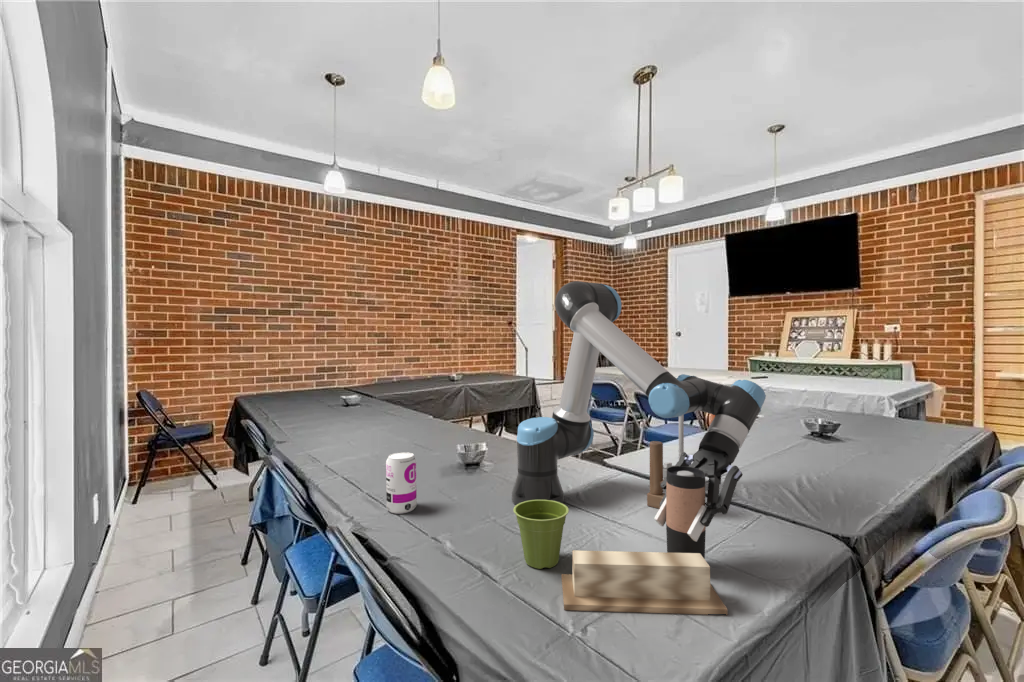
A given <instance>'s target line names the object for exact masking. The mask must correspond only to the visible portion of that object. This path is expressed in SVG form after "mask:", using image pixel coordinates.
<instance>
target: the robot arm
mask: <svg viewBox="0 0 1024 682" xmlns="http://www.w3.org/2000/svg"><path fill="white" fill-rule="evenodd" d="M554 308H555V313H556V314H557V316H558V317H559V319H560V320H561V322H562V323H564V325H565V326H567V328H568V329H570V331H572V333H573V335H572V336H573V337H572V340H571V346H570V350H569V356H568V360H567V366H566V371H565V375H564V381H563V385H562V391H561V395H560V400H559V405H558V406H555V408H553V411H552V415H551V417H547V416H538V417H531V418H528V419H525V420H523V421H521V422H520V423H519V424H518V426H517V434H516V443H517V446H516V448H517V449H516V450H517V455H516V456H517V475H516V478H515V482H514V485H513V488H512V490H511V502H512V504H514V506H516V505H517V504H519V503H521V502H524V501H529V500H552V501H557V502H560V503H562V504H564V502H565V499H564V497H565V496H564V491H563V487H562V484H561V481H560V478H559V475H558V474H559V473H558V460H561V459H564V458H569V457H571V456H577V455H579V454H581V453H582V452H585V451H586V450H587V449H589V448H590V446H591V445H592V443H593V441H594V435H595V434H594V428H593V426H592V423H591V416H590V415H589V413H588V407H589V403H590V398H591V397H590V396H591V395H592V394H591V393H592V389H593V383H594V379H595V374H596V370H597V365H598V361H599V357H600V356H599V355H600V354H602V355H603V356H604V357H605V358H606V359H607V360H608V361H609V362H610V363H612V364H613V366H615V368H617V369H618V370H619V371H620V372H621V373H622V374H623V375H624V376H625V377H626V378H627V379H628V380H629V381H630V382H632V383H633V384H634V385H635V387H637V388H638V389H639V390H640V391H641V392H642V393H643V394H645V396H647V398H648V404H649V407H650V409H651V411H652V412H653V413H654V414H655V415H656V416H658V417H661V418H664V419H673V418H679V416H682V415H683V414H684V415H686V414H690V413H695V412H698V411H699V412H700V411H701V412H704V413H706V414H711V415H713V416H714V417H713V420H712V421H711V423H710V424H709V426H708V427H707V430H706V431H707V432H705V433H704V435H703V437H702V439H701V441H700V443H699V446H698V450H697V451H696V452H695V453H694V454H687V453H686V452H685V451H684V452H683V453H681V456H680V459H679V458H678V461H677V462H676V464H675V466H687V467H693V468H697V469H700V470H702V471H704V472H705V478H707V479H708V482H707V483H708V484H707V497H706V502H705V506H703V505H702V506H701V508H700V510H699V511H698V513H697V515H696V517H695V519H694V521H693V523H692V525H691V526H690V528H689V530H688V532H687V534H688V535H689V536H690V537H691V538H692V539H693V540H694V541H696V542H697V540H698V538H699V536H700V534H701V532H702V530H703V528H704V527H705V526H706V528H708V527H709V526H710V524H711V522H712V521H713V519H714V517H715V515H716V514H719V513H720V514H722V515H727V514H728V512H729V508H730V507H731V506H730V505H731V502H732V499H733V497H734V493H735V490H736V487H737V484H738V482H739V481H740V479H741V478H742V477H743V473H742V471H741V470H740V468H739V467H738V466H737V465H732V464H733V463H734V462H735V461H736V458H737V456H738V455H739V453H740V449H741V448H742V446H743V445H744V442H745V441H746V438H747V437H748V435H749V434H750V433H749V432H750V431H751V428H752V426H753V425H754V423H755V421H756V420H757V418H758V416H759V415H760V413H761V411H762V407H763V405H764V403H765V400H766V397H767V395H766V392H765V390H764V389H763V388H762V387H761V385H759V384H757V383H756V382H754V381H751V380H748V379H738V380H735V381H734V382H733V383H732V384H731V385H730V386H729V385H726V384H725V385H724V384H720V383H717V382H714V381H710V380H708V379H704V378H700V377H698V376H695V375H690V374H685V373H684V374H683V373H681V374H679V375H678V376H677V377H676V376H674V375H673V374H672V373H671V372H670V371H668V370H667V369H666V367H664V366H663V365H661V364H660V362H659V361H657V360H656V359H655V358H653V356H651V355H650V354H649V353H648V352H647V351H646V350H644V349H643V348H642V347H641V346H640V345H638V344H637V342H636V341H634V340H633V339H631V338H630V336H628V335H627V333H625V332H623V331H622V330H621V328H619V327H618V326H617V325H616V324H614V322H615V321H616V320H617V319H618V318H620V315H621V312H622V299H621V296H620V295H619V293H618V292H617V290H616V289H614V287H612V286H610V285H607V284H603V283H598V282H597V283H596V282H586V281H580V280H577V281H576V280H574V281H570V282H568V283H566V284H564V285H563V286H561V287H560V289H558V291H557V293H556V296H555V299H554ZM689 465H690V466H689ZM724 474H726V475H725V478H724V481H723V484H722V476H723V475H724ZM666 483H667V477H666V478H665V479H664V481H663V482H662V483H661V487H662V488H663V492H664V493H665V495H664V497H663V499H662V500H661V502H660V506H661V507H660V509H658V511H657V512H656V514H655V516H654V518H653V519H654V521H655V522H656V523H657V524H658V525H659V526H660V527H664V526H665V524H666ZM721 484H722V485H721ZM720 485H721V486H722V487H721V490H720Z"/></svg>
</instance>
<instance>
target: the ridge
mask: <svg viewBox="0 0 1024 682" xmlns="http://www.w3.org/2000/svg"><path fill="white" fill-rule="evenodd" d="M571 561H572V563H571V564H572V565H571V566H572V574H570V573H566V574H565V573H561V588H562V589H561V590H562V600H563V610H564V611H582V612H583V611H585V612H587V611H588V612H591V611H592V612H616V613H618V612H619V613H620V612H621V613H622V612H623V613H646V614H647V613H650V614H651V613H652V614H653V613H654V614H676V615H677V614H681V615H683V614H684V615H708V614H726V615H725V616H728V608H727V606H726V605H725V604H724V602H723V600H722V598H720V596H719V595H718V593H717V592H716V590H715V589H714V588H713V586H712V584H711V566H710V565H709V563H708V562H707V560H706V558H705V559H704V558H703V557H702V555H701V554H700V553H667V552H665V551H664V552H663V551H662V552H658V551H655V552H654V551H621V550H620V551H619V550H618V551H615V550H614V551H612V550H577V549H575V550H572V560H571Z"/></svg>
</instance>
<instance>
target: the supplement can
mask: <svg viewBox="0 0 1024 682" xmlns="http://www.w3.org/2000/svg"><path fill="white" fill-rule="evenodd" d="M385 469H386V470H385V486H386V490H385V491H386V492H385V493H386V499H385V500H386V511H388V512H389V513H392V514H395V515H396V514H397V515H399V514H400V515H402V514H406V513H411V512H412V511H414V509H415V508H416V507H417V506H418V504H417V502H418V501H417V500H418V499H417V497H418V495H417V458H416V457H415V455H414V453H412V452H408V451H407V452H403V451H402V452H394V453H391V454H389V455H388V457H387V459H386V461H385Z"/></svg>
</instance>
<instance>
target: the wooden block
mask: <svg viewBox="0 0 1024 682" xmlns="http://www.w3.org/2000/svg"><path fill="white" fill-rule="evenodd" d="M663 465H664V443H663V442H661V441H655V440H652V441H650V442H649V492H648V493H646V496H647V497H646V501H647V502H646V504H647V507H651V508H653V509H654V508H655V509H658V510H659V509H660V507H661V506H660V502H661V500H662V499H663V497H664V495H665V492H664V490H663V488H662V487H661V483H662V482H663V481H664V480H663ZM689 466H690V465H689Z"/></svg>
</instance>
